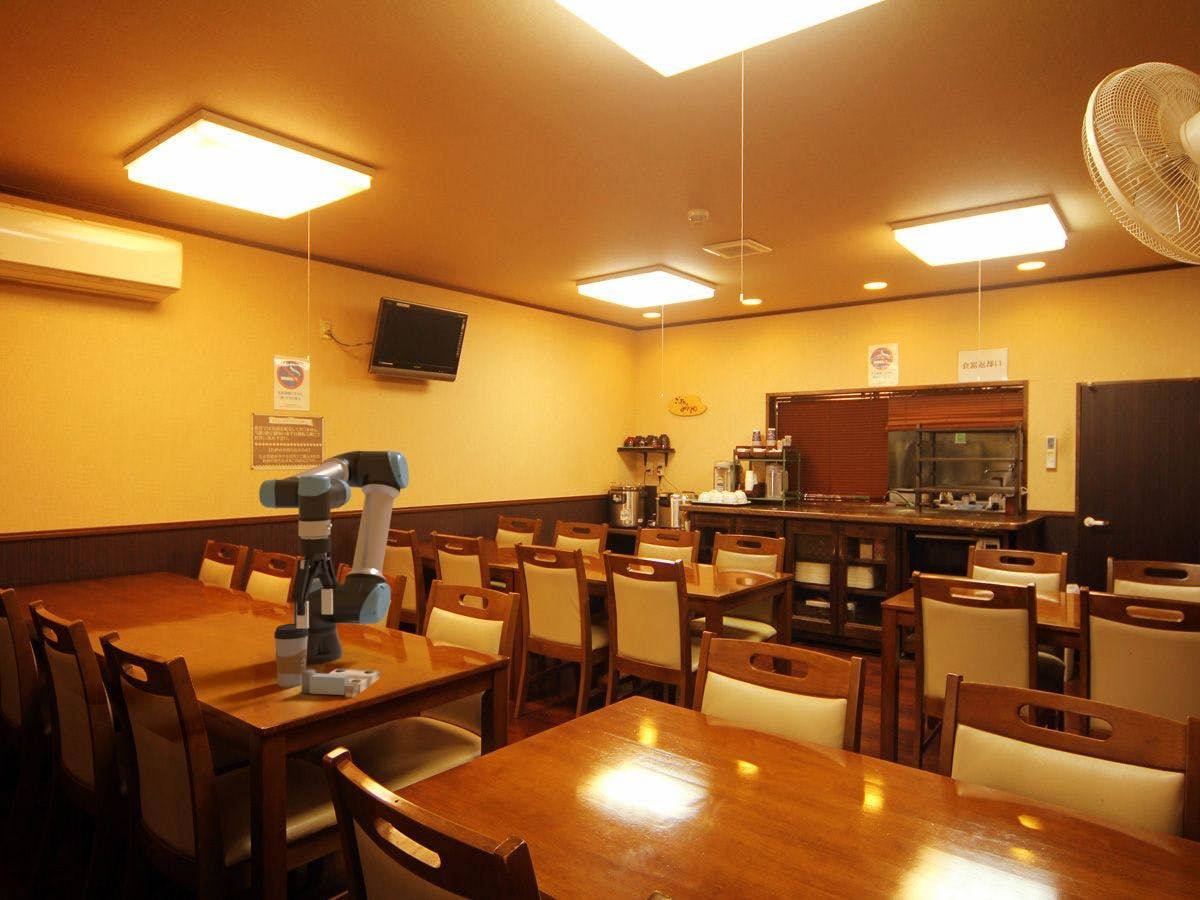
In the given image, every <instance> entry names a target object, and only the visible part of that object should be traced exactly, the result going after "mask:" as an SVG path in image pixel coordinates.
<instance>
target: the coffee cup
mask: <svg viewBox="0 0 1200 900" xmlns="http://www.w3.org/2000/svg"><path fill="white" fill-rule="evenodd" d="M273 635H274V636H273V638H274V643H275V665H276V667H275V668H276V675H277V685H278V686H279V687H281V688H294V687H298V686H302V671H304V670H307V669H306V668H307V665H306V658H307V640H308V635H309V633H308V629H304V628H297V623H296V624H294V623H287V624H281V625H278V626H276V628H275V631H274V634H273Z"/></svg>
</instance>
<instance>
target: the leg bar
mask: <svg viewBox="0 0 1200 900" xmlns="http://www.w3.org/2000/svg"><path fill="white" fill-rule="evenodd" d="M348 683H349V675H343V674H329V673H319V672H318V673H317V672H316V669H306V670H304V671H302V684H301V692H302V693H305V694H308V693H313V694H316V695H335V696H336V695H338V696H345V685H347V684H348Z"/></svg>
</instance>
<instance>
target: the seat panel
mask: <svg viewBox="0 0 1200 900" xmlns="http://www.w3.org/2000/svg"><path fill="white" fill-rule="evenodd" d="M380 671H381V670H376V669H375V670H373V669H352V668H335V669H333V670H332V671H330V672H329V673H328V674H343V675H349V683H348V684H347V685H345V695H344V697H345V698H354V697H355V696H357V695H359V694H360V693H362V692H363V691H364V690H366V689H367V688H369V687H370V686H372V685H373V684H374V683H376V682H377V681H378V680H380V679H381V677H380V676H381V674H380V673H381V672H380ZM298 695H299V697H304V698H305V697H313V696H316V695H317V694H313V693H308V694H305V693H302V691H300V692H299V693H298Z"/></svg>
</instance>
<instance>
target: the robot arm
mask: <svg viewBox="0 0 1200 900" xmlns="http://www.w3.org/2000/svg"><path fill="white" fill-rule="evenodd" d="M409 475H410V474H409V465H408V462H407V458H406V456H405V455H404V453H402V452H401V451H395V450H394V451H391V450H385V451H384V450H369V451H368V450H353V451H348V452H347V451H346V452H344V453H340V454H337V455H334V456H331V457H328V458H326V459H324V460H323V461H321V463H320V464H319V465H316V466H315V467H311V468H308V469H307V470H304V471H301V472H299V473H296V474H294V475H291V476H288V477H285V478H283V479H282V478H281V479H277V478H274V479H266V480H264V481H262V483H261V484H260V486H259V491H258V494H259V495H258V497H259V498H258V499H259V502H260V503H261V505H262V507H265V508H270V509H276V510H277V509H298V536H299V539H298V552H299V554H301V555H302V554H303V555H304V557H303V558H304V559H302V560H301V559H298V560H297V563H296V564H297V568H296V574H295V578H294V579H295V580H294V582H293V583H294V584H293V586H292V587H293V588H292V594H291V597H290V598H291V599H290V600H291V602H292V603H293V624H296V623H297V628H304V629H308V633H309V635H308V640H307V658H306V666H311V665H313V666H314V665H315V666H316V665H323V664H328V663H331V662H334V661H337V660H339V659H341V658H342V657H343V647H342V643H341V640H340V638H339V635H338V632H337V624H345V625H346V624H348V625H350V624H351V625H363V626H364V625H373V624H379V623H380V622H382V620H383V619H384V618H385V617H386V614H387V613H388V611H389V607H390V604H391V599H392V598H391V597H392V596H391V593H392V590H391V586H390V585H389V584H388V583H386V582H387V578H386V577H385V576H384V575H383V568H384V562H385V555H386V551H387V550H386V549H387V544H388V538H389V531H390V525H391V519H392V511H393V506H394V500H395V499H396V498H398V497H399V496H400V494H401V490H404V489H406V488H407V487H408V485H409V480H410V477H409ZM351 488H358V489H359V488H360V490H361V492H362V494H363V495H364V502H363V507H362V512H361V518H360V523H359V528H358V534H357V540H356V546H355V551H354V556H353V563H352V567H351V568H352V569H351V570H350V571H349V572H347V573H346V574H345V575H344V576H345V577H344V582H338V579H337V577H336V576H337V575H336V572H335V568H334V564H333V560H332V538H331V537H330V535H331V528H332V527H333V524H332V523H331V517H332V515H331V511H332V510H333V509H334V510H335V509H339V508H341V507H343V506H345V505H346V504H347V503H348V502H349V501H350V499H351V496H352V489H351Z"/></svg>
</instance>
